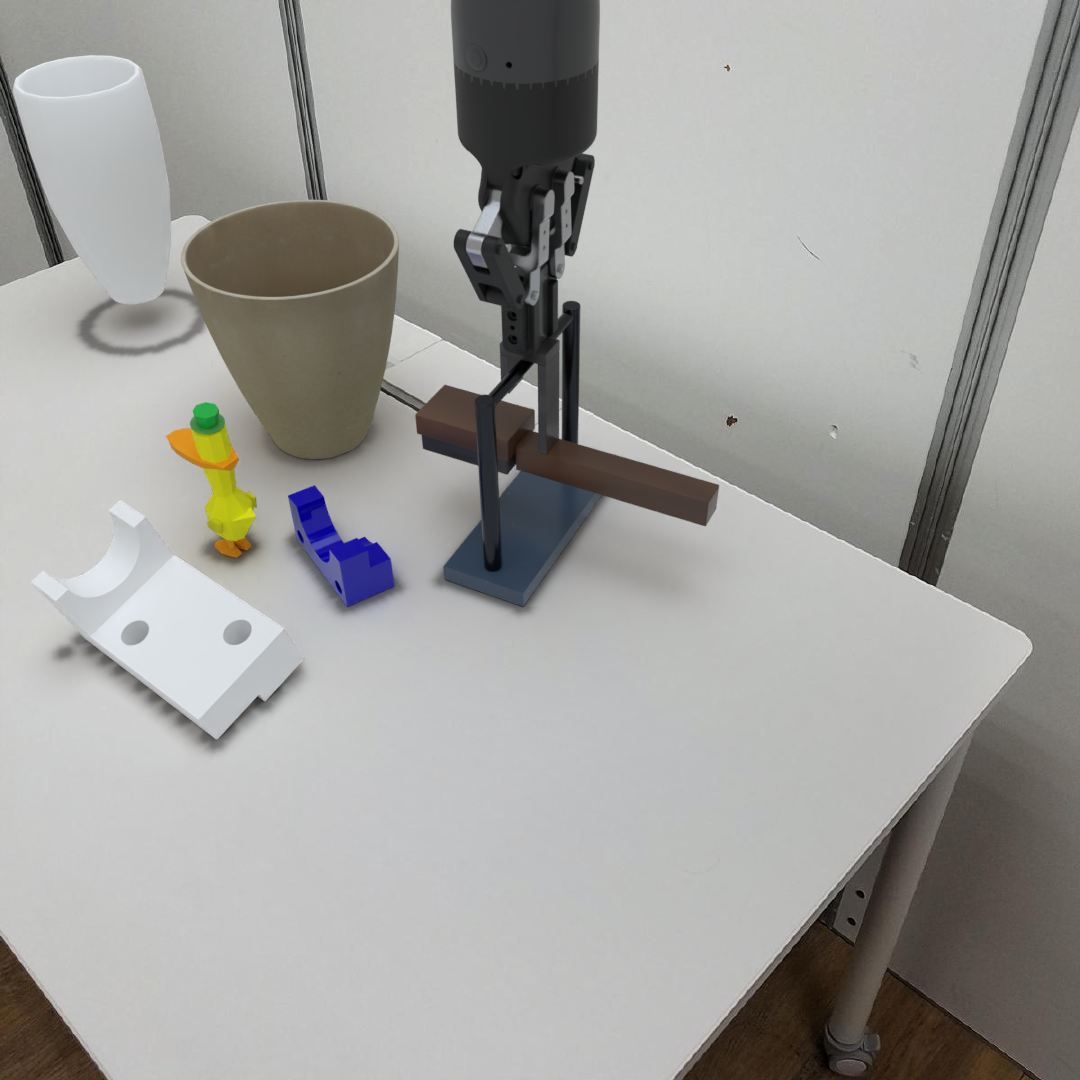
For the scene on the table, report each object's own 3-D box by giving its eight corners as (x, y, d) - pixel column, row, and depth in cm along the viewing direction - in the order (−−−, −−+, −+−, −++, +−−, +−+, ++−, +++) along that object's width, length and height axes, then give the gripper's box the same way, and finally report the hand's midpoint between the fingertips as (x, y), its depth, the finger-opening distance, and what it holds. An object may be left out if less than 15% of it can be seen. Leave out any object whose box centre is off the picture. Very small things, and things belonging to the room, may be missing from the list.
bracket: (93, 646, 72) (30, 582, 66) (172, 568, 75) (119, 499, 69) (223, 746, 66) (167, 685, 60) (304, 658, 69) (259, 591, 63)
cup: (226, 300, 103) (172, 59, 89) (164, 359, 96) (95, 107, 81) (128, 284, 105) (61, 47, 91) (61, 340, 98) (-24, 92, 84)
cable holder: (394, 586, 75) (388, 541, 72) (347, 606, 73) (339, 562, 71) (341, 521, 80) (334, 477, 77) (296, 539, 78) (287, 495, 76)
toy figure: (179, 542, 78) (136, 401, 70) (216, 515, 80) (178, 374, 72) (249, 578, 75) (213, 435, 67) (285, 548, 78) (255, 406, 70)
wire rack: (614, 477, 83) (622, 304, 73) (523, 607, 73) (518, 426, 63) (542, 456, 85) (540, 284, 75) (443, 579, 75) (427, 400, 65)
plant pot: (424, 479, 83) (405, 288, 72) (221, 500, 82) (171, 308, 71) (411, 370, 94) (392, 189, 83) (231, 386, 92) (189, 205, 82)
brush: (700, 536, 70) (724, 334, 60) (418, 450, 77) (398, 256, 67) (721, 499, 72) (747, 300, 63) (447, 419, 79) (432, 228, 70)
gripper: (531, 109, 52) (535, 416, 63) (644, 21, 61) (630, 303, 72) (392, 84, 54) (421, 383, 66) (521, 3, 63) (526, 279, 75)
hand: (530, 340), depth 69 cm, fingers closed on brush, 2 cm apart
